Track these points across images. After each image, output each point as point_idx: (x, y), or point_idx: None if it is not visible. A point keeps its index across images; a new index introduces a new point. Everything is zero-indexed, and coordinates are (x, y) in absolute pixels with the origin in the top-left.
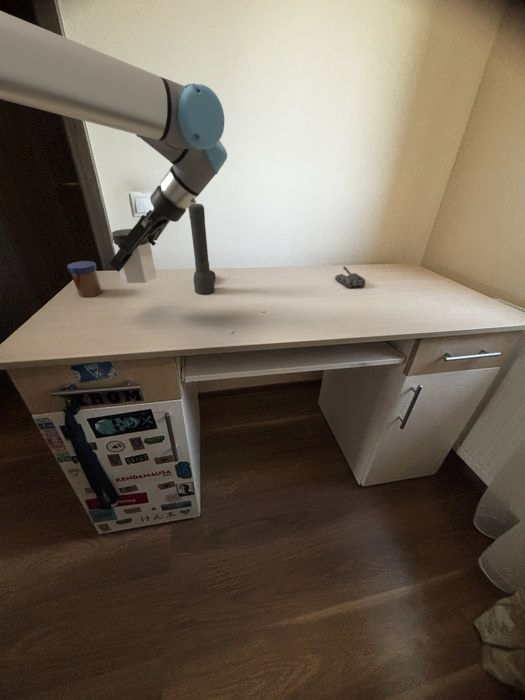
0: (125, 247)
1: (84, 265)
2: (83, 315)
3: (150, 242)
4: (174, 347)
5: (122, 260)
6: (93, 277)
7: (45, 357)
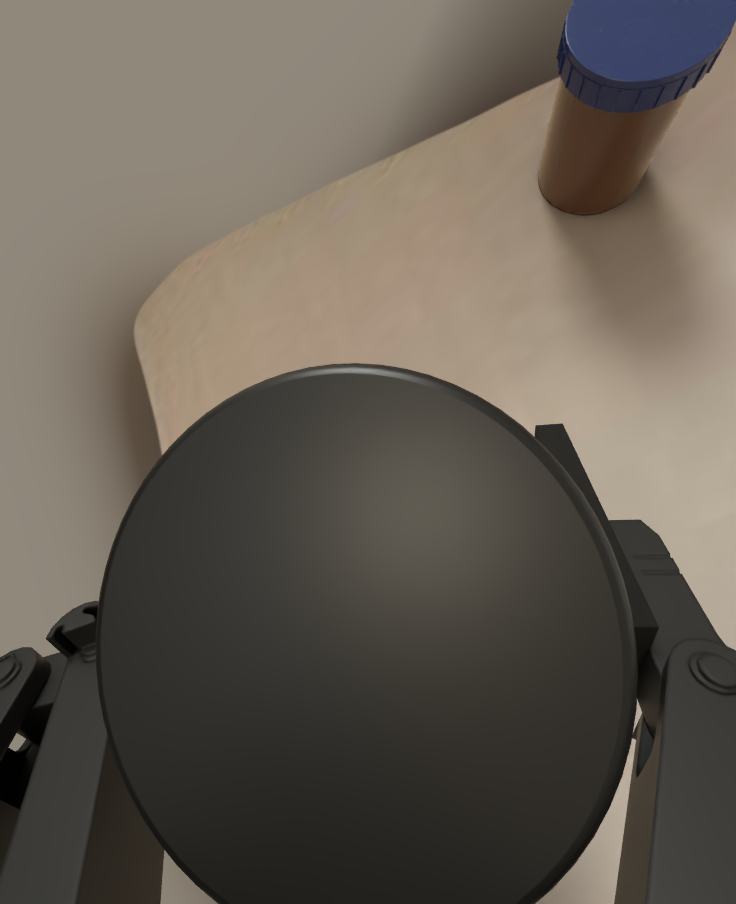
0: (17, 731)
1: (638, 41)
2: (387, 302)
3: (640, 723)
4: None
5: None
6: (613, 141)
7: (152, 391)
